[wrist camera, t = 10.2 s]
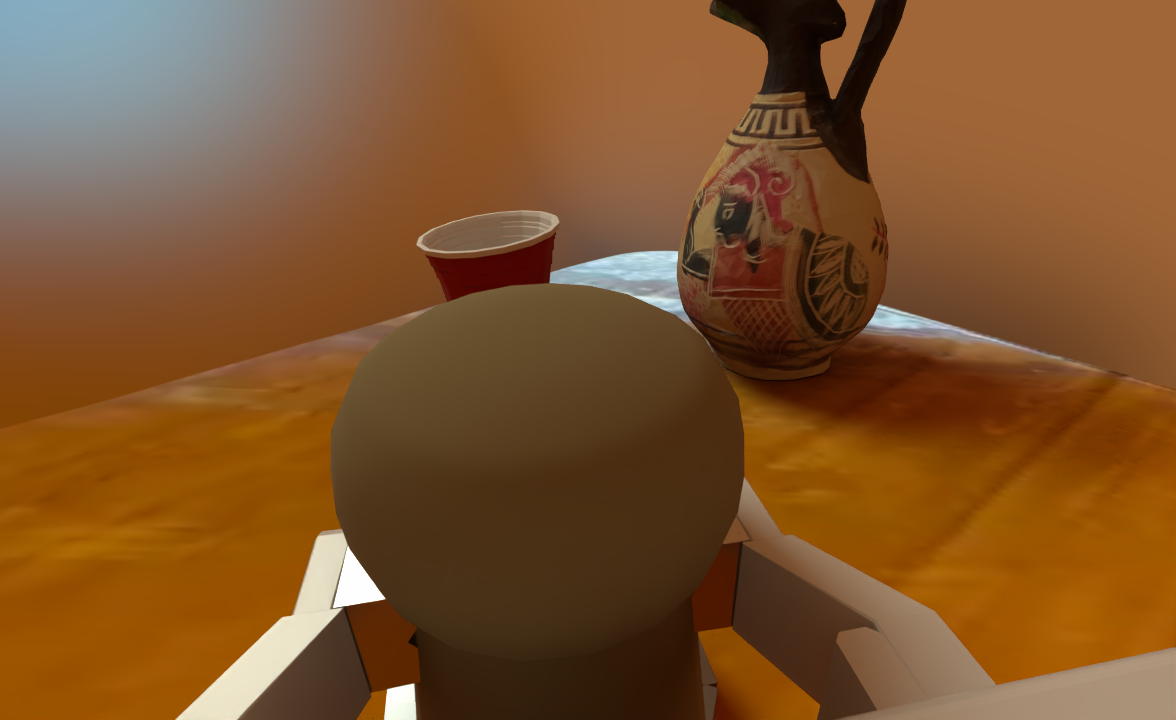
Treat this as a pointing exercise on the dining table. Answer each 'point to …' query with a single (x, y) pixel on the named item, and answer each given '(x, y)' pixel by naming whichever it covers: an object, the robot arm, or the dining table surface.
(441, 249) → the plastic cup
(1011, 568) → the dining table surface
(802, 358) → the ceramic jug
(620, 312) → the cork
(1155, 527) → the dining table surface
